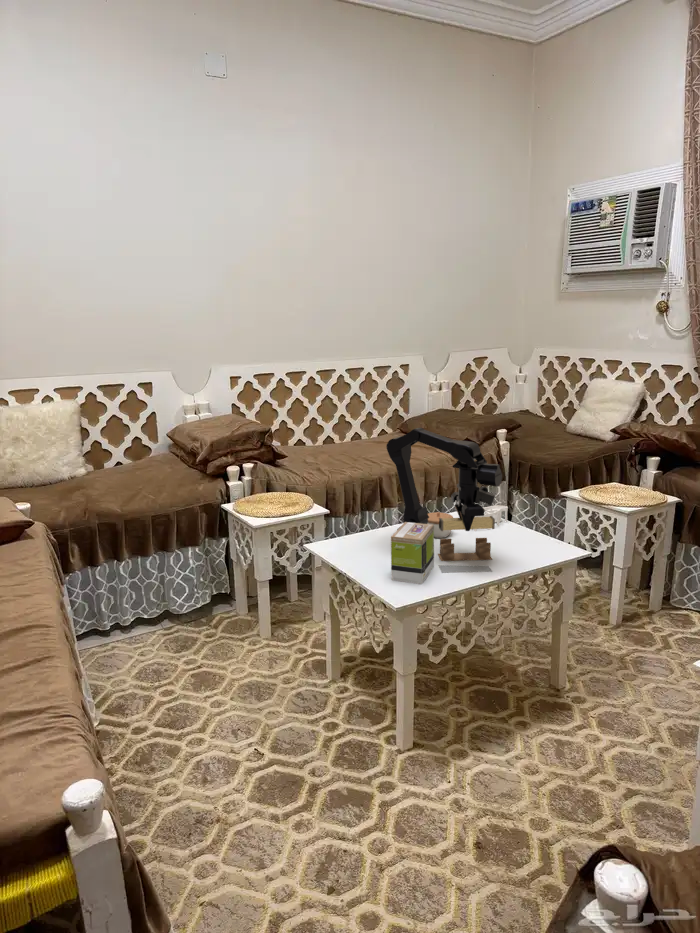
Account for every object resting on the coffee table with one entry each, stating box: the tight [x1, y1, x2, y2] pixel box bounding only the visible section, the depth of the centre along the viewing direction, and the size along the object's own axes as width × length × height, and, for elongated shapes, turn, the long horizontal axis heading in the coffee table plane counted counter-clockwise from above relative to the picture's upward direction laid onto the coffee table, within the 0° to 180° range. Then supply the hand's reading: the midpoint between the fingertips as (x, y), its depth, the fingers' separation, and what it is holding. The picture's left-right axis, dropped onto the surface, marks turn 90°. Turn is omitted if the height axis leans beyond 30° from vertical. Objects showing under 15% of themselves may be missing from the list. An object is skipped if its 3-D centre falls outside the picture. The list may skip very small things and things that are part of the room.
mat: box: [438, 564, 493, 574], centre depth 207 cm, size 16×7×1 cm, turn 93°
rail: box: [439, 516, 496, 531], centre depth 209 cm, size 17×3×3 cm, turn 94°
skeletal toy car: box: [464, 505, 509, 532], centre depth 246 cm, size 20×11×7 cm, turn 109°
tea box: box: [390, 522, 435, 585], centre depth 202 cm, size 15×10×15 cm
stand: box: [437, 537, 493, 562], centre depth 215 cm, size 17×6×6 cm, turn 93°
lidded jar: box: [427, 511, 454, 539], centre depth 236 cm, size 11×11×9 cm
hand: (466, 529), depth 209 cm, fingers closed on rail, 3 cm apart
